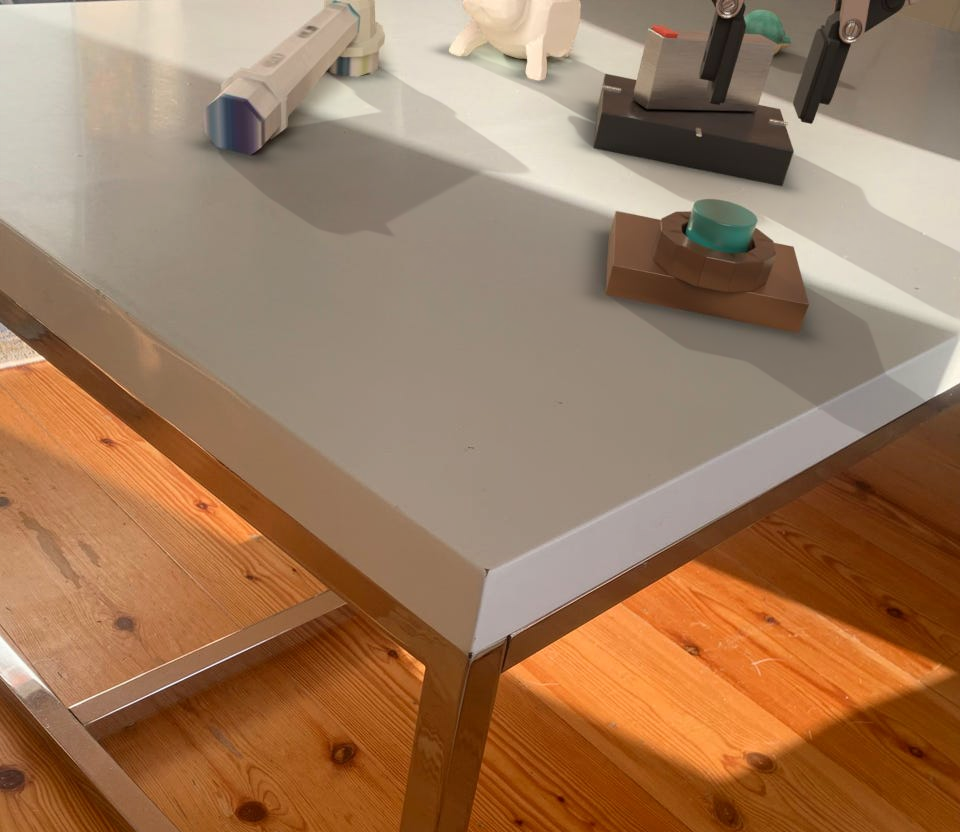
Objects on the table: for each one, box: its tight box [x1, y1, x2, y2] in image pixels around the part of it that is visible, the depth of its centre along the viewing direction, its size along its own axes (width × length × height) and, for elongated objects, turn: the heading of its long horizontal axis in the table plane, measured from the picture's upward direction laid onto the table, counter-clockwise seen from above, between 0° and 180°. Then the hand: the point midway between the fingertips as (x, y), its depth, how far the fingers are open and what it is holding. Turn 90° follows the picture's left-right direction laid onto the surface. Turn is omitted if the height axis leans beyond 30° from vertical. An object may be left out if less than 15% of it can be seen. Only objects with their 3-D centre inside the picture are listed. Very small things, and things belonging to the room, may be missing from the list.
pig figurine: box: [448, 0, 582, 81], centre depth 93 cm, size 9×8×15 cm
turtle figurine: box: [744, 9, 791, 55], centre depth 114 cm, size 6×7×4 cm
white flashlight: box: [203, 0, 386, 156], centre depth 78 cm, size 5×7×25 cm
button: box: [685, 198, 758, 253], centre depth 62 cm, size 4×4×2 cm
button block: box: [605, 210, 810, 334], centre depth 64 cm, size 11×9×4 cm
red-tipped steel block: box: [632, 24, 777, 112], centre depth 83 cm, size 10×2×5 cm, turn 114°
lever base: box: [593, 73, 795, 187], centre depth 85 cm, size 14×14×3 cm
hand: (759, 102), depth 58 cm, fingers open, 4 cm apart
